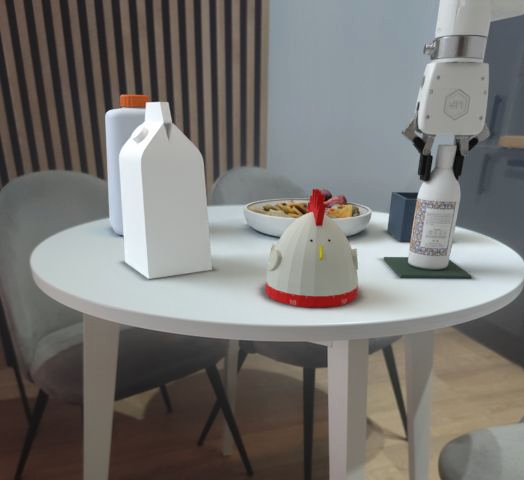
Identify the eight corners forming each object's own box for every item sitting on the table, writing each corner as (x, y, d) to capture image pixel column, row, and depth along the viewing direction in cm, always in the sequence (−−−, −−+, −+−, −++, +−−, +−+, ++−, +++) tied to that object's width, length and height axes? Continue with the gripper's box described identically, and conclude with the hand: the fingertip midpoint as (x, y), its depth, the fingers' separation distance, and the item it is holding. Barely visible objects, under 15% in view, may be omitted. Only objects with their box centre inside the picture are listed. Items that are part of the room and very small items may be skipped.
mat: (445, 260, 95) (446, 257, 94) (470, 278, 84) (471, 275, 84) (383, 259, 94) (383, 256, 94) (400, 277, 84) (400, 274, 83)
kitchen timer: (270, 308, 69) (273, 196, 63) (261, 279, 81) (262, 183, 75) (368, 306, 70) (380, 196, 64) (344, 278, 83) (352, 184, 76)
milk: (212, 269, 86) (207, 102, 75) (148, 279, 81) (133, 100, 70) (183, 254, 95) (176, 103, 84) (125, 262, 90) (108, 101, 79)
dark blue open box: (434, 231, 119) (440, 192, 115) (451, 242, 109) (459, 199, 105) (387, 231, 119) (391, 192, 115) (399, 241, 108) (405, 199, 105)
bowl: (354, 248, 102) (358, 209, 99) (222, 235, 112) (222, 199, 108) (379, 223, 127) (383, 191, 124) (270, 214, 137) (271, 184, 134)
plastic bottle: (184, 234, 112) (178, 95, 100) (116, 238, 107) (100, 92, 95) (170, 222, 125) (163, 97, 113) (108, 225, 120) (93, 95, 108)
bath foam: (416, 258, 93) (434, 143, 85) (453, 265, 89) (476, 145, 81) (400, 265, 88) (418, 144, 80) (439, 273, 84) (461, 146, 76)
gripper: (410, 49, 71) (394, 182, 79) (525, 51, 72) (497, 184, 80) (396, 55, 78) (382, 177, 86) (501, 57, 79) (478, 179, 86)
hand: (438, 179), depth 83 cm, fingers closed on bath foam, 4 cm apart
